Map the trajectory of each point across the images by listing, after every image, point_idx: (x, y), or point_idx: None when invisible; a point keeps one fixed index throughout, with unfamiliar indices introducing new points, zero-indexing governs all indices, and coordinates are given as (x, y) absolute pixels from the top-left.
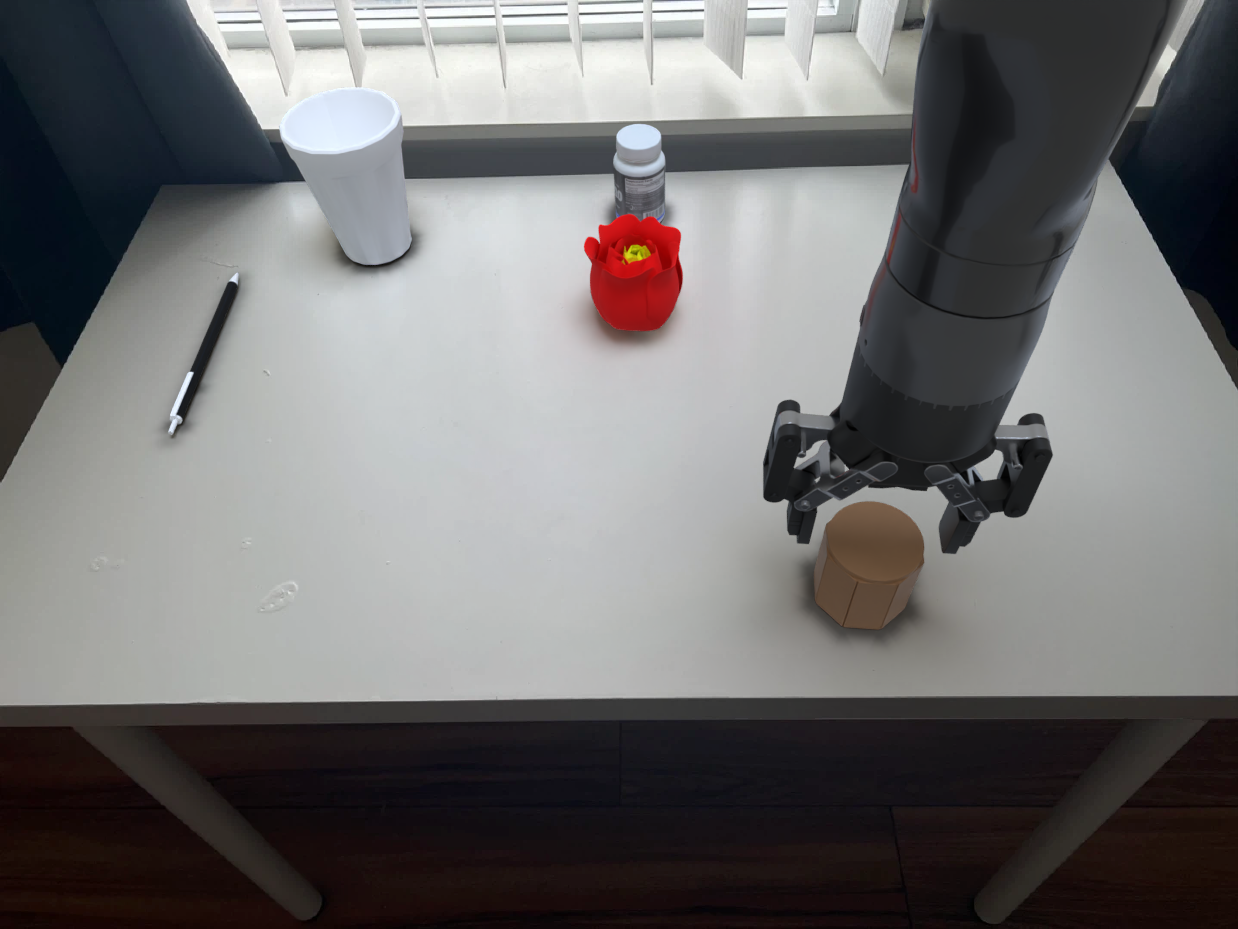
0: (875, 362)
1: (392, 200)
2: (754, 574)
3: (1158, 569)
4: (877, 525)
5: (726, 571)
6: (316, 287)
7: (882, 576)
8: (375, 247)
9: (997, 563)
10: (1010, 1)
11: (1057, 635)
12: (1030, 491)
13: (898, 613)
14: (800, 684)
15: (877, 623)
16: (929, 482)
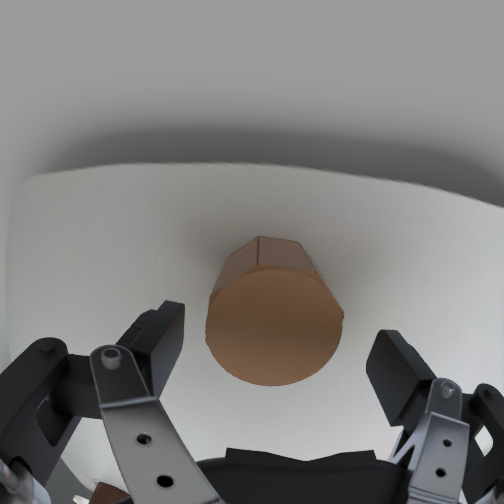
0: None
1: (461, 495)
2: (368, 306)
3: (31, 275)
4: (265, 355)
5: (390, 309)
6: (487, 447)
7: (280, 277)
8: None
9: (129, 298)
10: None
11: (94, 220)
12: (3, 384)
13: (235, 252)
14: (354, 182)
15: (264, 239)
16: (226, 483)
